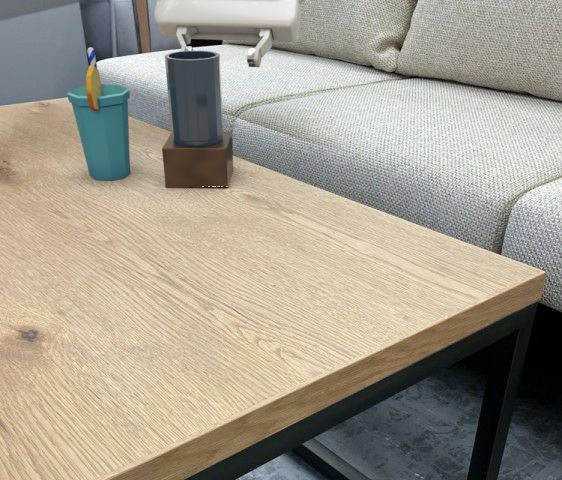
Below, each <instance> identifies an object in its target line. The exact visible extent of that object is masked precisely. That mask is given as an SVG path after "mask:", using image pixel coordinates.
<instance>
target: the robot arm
mask: <svg viewBox="0 0 562 480" xmlns="http://www.w3.org/2000/svg"><path fill="white" fill-rule="evenodd" d="M305 1H306V0H156V4H155V8H154V13H153V18H154V22H155V24H156V27H157V29H158V31H159V32H160V34H161V35H162V36H163V38H164V39H177V40H178V43H179V45H180V47H181V48H180V51H194V48H193V46H191V45H190V44H191V42H192V40H211V41H212V40H214V41H245V42H258V43H257V44H256V46H254V48H251V47H250V48H248V51H247V56H246V62H247V64H248V68H260V67H261V63H262V58H264V56H265V55H266V54H267V53H268V52H269V51H270V50H271V49H272V47H273V42H276V43H293V42H294V41H296V40H297V39H298V38H299V37H300V35H301V28H302V5H303V3H304V2H305Z"/></svg>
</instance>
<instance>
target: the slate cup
mask: <svg viewBox="0 0 562 480" xmlns="http://www.w3.org/2000/svg"><path fill="white" fill-rule="evenodd" d="M164 64H165V74H166V86H167V99H168V109H169V120H170V134H172V140H173V142H174V143H176V144H179V145H183V146H208V145H213V144H217V143H219V142H221V141H222V140H223V132H224V120H223V115H224V114H223V99H222V98H223V96H222V76H221V75H222V74H221V54H220V53H218V52H215V51H210V50H193V51H181V50H180V51H173V52H169V53H166V54H165V55H164Z"/></svg>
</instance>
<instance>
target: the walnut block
mask: <svg viewBox="0 0 562 480" xmlns="http://www.w3.org/2000/svg"><path fill="white" fill-rule="evenodd" d="M233 150H234V149H233V132H232V131H223V140H222V141H221V142H219V143H217V144H213V145H208V146H183V145H179V144H176V143H174V142H173V140H172V134H171V133H170V134H169V136H168V138H167V139H166V141H165V143H164V144H163V146H162V148H161V153H162V163H163V173H164V183H165V188H167V187H202V186H204V187H208V186H210V187H212V186H216V187H217V186H220V187H221V186H223V187H226V186H228V187H229V185H230V182H229V181H231V178H230V177H232V175H231V174H233V171H234V152H233ZM228 184H229V185H228Z"/></svg>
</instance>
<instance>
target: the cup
mask: <svg viewBox="0 0 562 480" xmlns="http://www.w3.org/2000/svg"><path fill="white" fill-rule="evenodd" d="M86 50H87V51H86V53H87V55H88V60H89V66H88V70H87V72H86V75H85V79H86V81H85V83H86V84H85V85H82V86H77V87H75V88H73V89H71V90H69V91H68V92H67V94H66V96H67V99H68V102H69V103H70V104H71V107H72V110H73V114H74V115H73V116H74V118H75V123H76V126H77V130H78V134H79V138H80V142H81V147H82V151H83V155H84V158H85V162H86V167H87V170H88V174H89V177H91V178H92V179H95V180H96V181H117V180H119V179H120V180H121V179H125V178H127V177H128V175H130V174H131V157H130V156H131V155H130V131H129V130H130V129H129V128H130V127H129V125H130V124H129V99H130V97H131V96H130V91H131V90H130V89H129V88H128V87H126V86H122V85H119V84H102V81H101V77H100V72H99V71H100V70H99V69H98V65H97V64H98V63H97V59H96V52H95V49H94V47H91V46H90V47H88V48H87V49H86Z"/></svg>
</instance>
